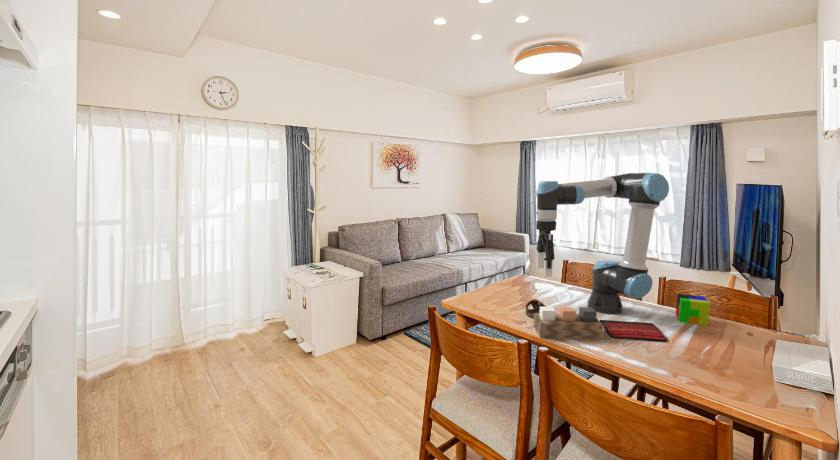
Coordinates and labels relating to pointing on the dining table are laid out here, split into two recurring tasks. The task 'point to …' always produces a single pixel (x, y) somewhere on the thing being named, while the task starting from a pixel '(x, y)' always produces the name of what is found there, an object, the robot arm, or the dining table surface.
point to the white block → (547, 314)
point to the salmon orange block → (567, 314)
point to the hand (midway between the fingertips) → (544, 272)
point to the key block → (568, 328)
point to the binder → (633, 330)
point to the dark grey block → (587, 314)
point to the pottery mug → (534, 307)
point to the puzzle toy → (692, 309)
